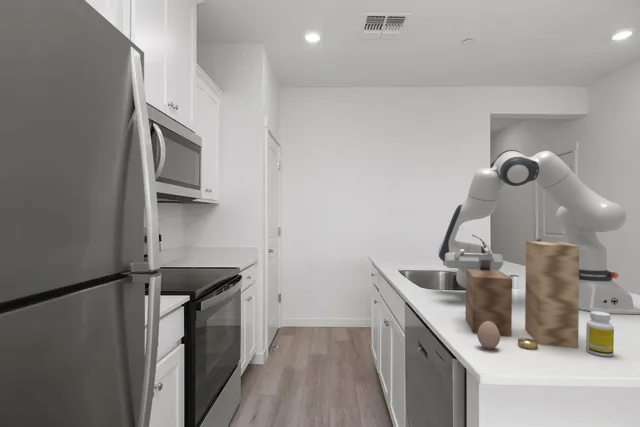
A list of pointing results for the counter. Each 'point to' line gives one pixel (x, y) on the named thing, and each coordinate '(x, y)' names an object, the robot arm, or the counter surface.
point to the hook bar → (484, 262)
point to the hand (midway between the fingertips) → (475, 251)
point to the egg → (488, 335)
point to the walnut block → (489, 300)
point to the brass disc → (527, 343)
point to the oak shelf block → (552, 293)
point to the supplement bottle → (600, 334)
